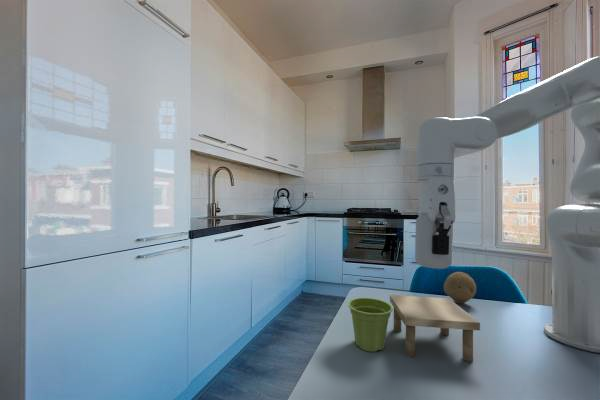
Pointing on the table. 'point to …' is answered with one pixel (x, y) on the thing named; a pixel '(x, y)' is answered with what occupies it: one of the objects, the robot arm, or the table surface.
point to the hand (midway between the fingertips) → (433, 250)
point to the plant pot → (370, 322)
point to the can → (429, 245)
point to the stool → (433, 320)
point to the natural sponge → (460, 287)
